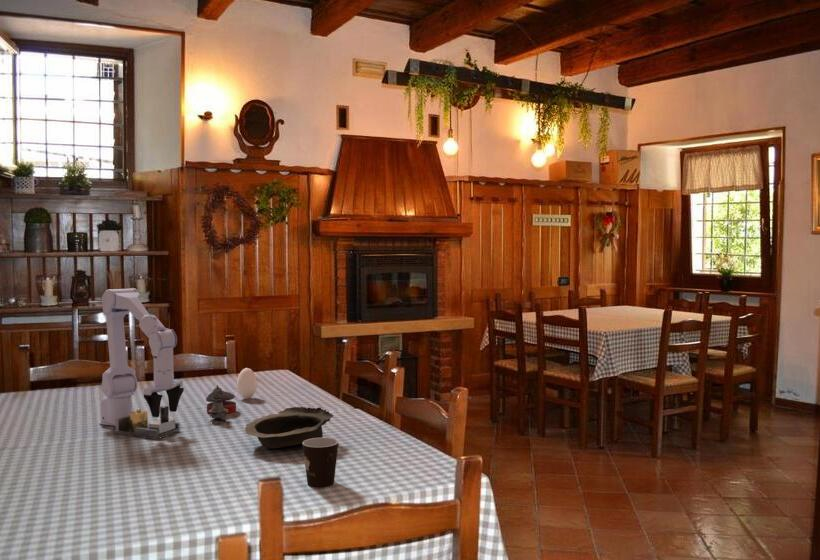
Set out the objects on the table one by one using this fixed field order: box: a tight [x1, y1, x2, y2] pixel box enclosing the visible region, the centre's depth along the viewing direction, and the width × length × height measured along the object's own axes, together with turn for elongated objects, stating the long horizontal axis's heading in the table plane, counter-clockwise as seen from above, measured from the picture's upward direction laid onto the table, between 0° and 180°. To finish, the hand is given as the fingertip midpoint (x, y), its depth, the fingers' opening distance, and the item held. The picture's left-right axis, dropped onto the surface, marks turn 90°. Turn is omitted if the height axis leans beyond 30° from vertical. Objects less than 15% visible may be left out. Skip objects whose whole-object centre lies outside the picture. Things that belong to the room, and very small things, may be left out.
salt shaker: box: [209, 384, 227, 424], centre depth 231 cm, size 6×6×12 cm
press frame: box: [113, 415, 181, 440], centre depth 217 cm, size 16×10×4 cm, turn 68°
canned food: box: [205, 390, 237, 416], centre depth 244 cm, size 11×10×10 cm
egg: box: [236, 367, 258, 400], centre depth 266 cm, size 7×7×12 cm
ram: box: [148, 405, 176, 434], centre depth 215 cm, size 4×7×7 cm, turn 158°
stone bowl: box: [244, 406, 334, 450], centre depth 203 cm, size 25×25×9 cm
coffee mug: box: [301, 437, 339, 489], centre depth 168 cm, size 12×9×10 cm
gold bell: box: [130, 408, 149, 430], centre depth 218 cm, size 5×5×6 cm
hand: (164, 414), depth 215 cm, fingers open, 7 cm apart
